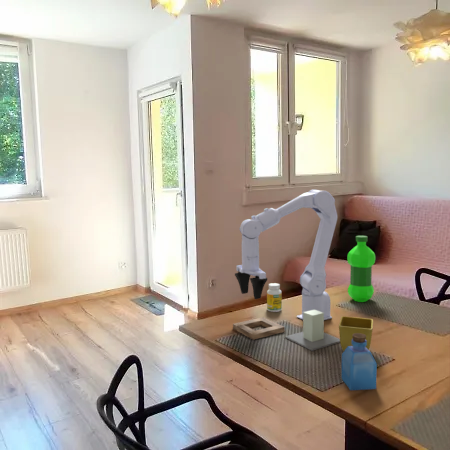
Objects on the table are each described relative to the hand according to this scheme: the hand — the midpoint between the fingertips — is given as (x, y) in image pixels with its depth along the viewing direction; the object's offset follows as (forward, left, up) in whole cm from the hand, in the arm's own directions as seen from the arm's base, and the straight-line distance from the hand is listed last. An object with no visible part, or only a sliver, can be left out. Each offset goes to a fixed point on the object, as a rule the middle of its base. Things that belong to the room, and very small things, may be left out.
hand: (250, 295), depth 153 cm
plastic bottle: (-50, +2, -10) cm, 51 cm away
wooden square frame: (+2, +7, -9) cm, 12 cm away
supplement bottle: (-15, -7, -10) cm, 19 cm away
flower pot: (-10, +37, -10) cm, 40 cm away
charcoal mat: (-7, +23, -9) cm, 26 cm away
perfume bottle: (+3, +50, -10) cm, 51 cm away
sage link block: (-7, +23, -9) cm, 26 cm away
